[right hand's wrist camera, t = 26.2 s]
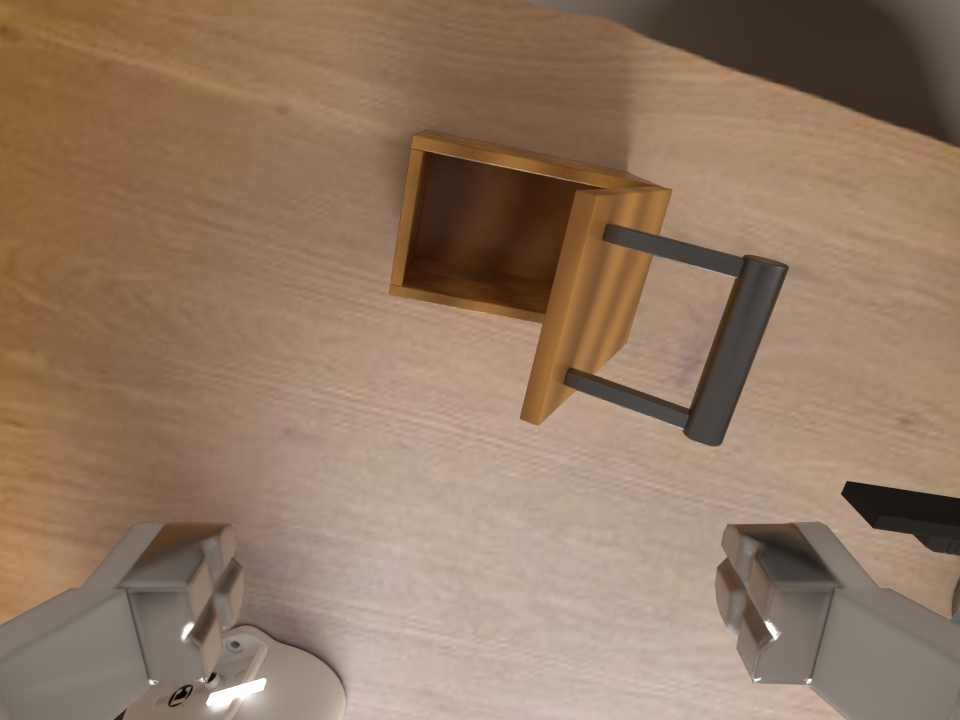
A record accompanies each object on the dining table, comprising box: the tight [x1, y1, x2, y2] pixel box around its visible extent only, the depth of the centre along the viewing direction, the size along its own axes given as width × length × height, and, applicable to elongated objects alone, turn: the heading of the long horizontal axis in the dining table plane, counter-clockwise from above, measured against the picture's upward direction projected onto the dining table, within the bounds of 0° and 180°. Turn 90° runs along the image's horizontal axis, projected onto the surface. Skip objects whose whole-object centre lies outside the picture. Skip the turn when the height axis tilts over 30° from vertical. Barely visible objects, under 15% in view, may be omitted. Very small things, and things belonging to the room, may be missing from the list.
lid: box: [520, 186, 789, 446], centre depth 30 cm, size 15×9×8 cm
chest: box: [389, 130, 662, 324], centre depth 42 cm, size 15×10×10 cm, turn 79°
